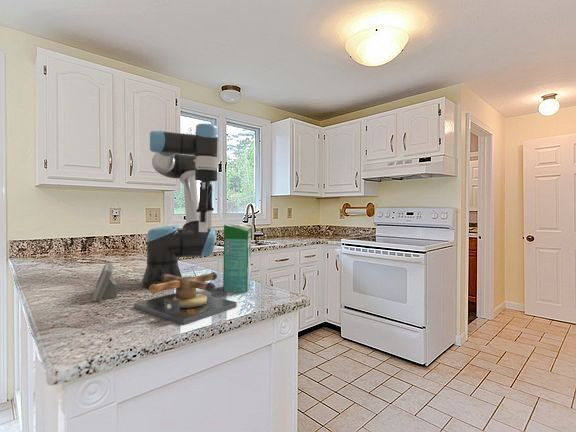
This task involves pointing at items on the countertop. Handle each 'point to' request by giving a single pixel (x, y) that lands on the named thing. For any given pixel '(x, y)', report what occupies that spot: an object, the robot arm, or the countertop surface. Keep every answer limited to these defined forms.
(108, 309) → the countertop surface
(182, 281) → the capstan
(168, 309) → the stand
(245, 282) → the milk carton
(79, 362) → the countertop surface
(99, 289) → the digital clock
